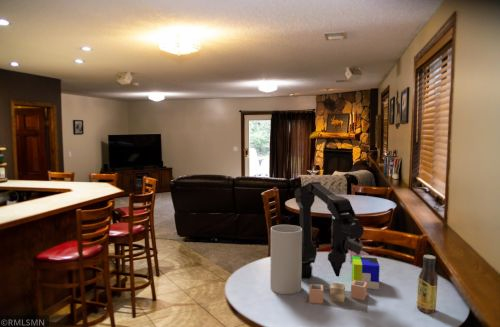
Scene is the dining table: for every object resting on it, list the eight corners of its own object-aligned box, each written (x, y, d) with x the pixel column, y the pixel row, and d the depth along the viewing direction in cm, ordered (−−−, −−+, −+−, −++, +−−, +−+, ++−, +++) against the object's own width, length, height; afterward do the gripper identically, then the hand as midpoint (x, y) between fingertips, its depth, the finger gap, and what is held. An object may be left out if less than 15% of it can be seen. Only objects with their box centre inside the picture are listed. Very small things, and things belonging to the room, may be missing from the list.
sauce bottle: (413, 306, 139) (415, 253, 137) (429, 305, 139) (431, 252, 138) (422, 314, 132) (425, 259, 131) (440, 314, 133) (442, 258, 131)
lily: (370, 268, 181) (372, 248, 185) (350, 261, 177) (353, 241, 181) (353, 268, 192) (356, 249, 195) (335, 261, 188) (338, 242, 191)
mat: (305, 303, 141) (305, 302, 141) (312, 287, 156) (312, 286, 156) (366, 313, 133) (366, 311, 133) (368, 294, 148) (368, 293, 148)
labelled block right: (350, 297, 145) (351, 284, 145) (353, 292, 150) (354, 279, 149) (364, 300, 143) (364, 286, 143) (366, 295, 147) (367, 282, 147)
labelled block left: (309, 302, 141) (309, 288, 140) (309, 296, 146) (309, 283, 145) (322, 303, 140) (323, 289, 140) (322, 297, 145) (322, 284, 145)
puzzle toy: (378, 290, 153) (379, 266, 152) (353, 288, 155) (353, 264, 154) (375, 280, 163) (376, 258, 162) (351, 278, 165) (352, 256, 164)
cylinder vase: (303, 285, 158) (304, 226, 156) (297, 297, 146) (298, 233, 144) (275, 281, 162) (275, 223, 160) (266, 292, 150) (266, 231, 148)
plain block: (330, 300, 143) (330, 287, 142) (331, 295, 147) (332, 282, 147) (343, 302, 141) (343, 289, 141) (344, 296, 146) (345, 284, 145)
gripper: (360, 240, 131) (359, 284, 132) (363, 227, 148) (362, 266, 150) (327, 237, 134) (327, 280, 136) (334, 225, 152) (333, 263, 153)
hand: (338, 272), depth 143 cm, fingers open, 8 cm apart
